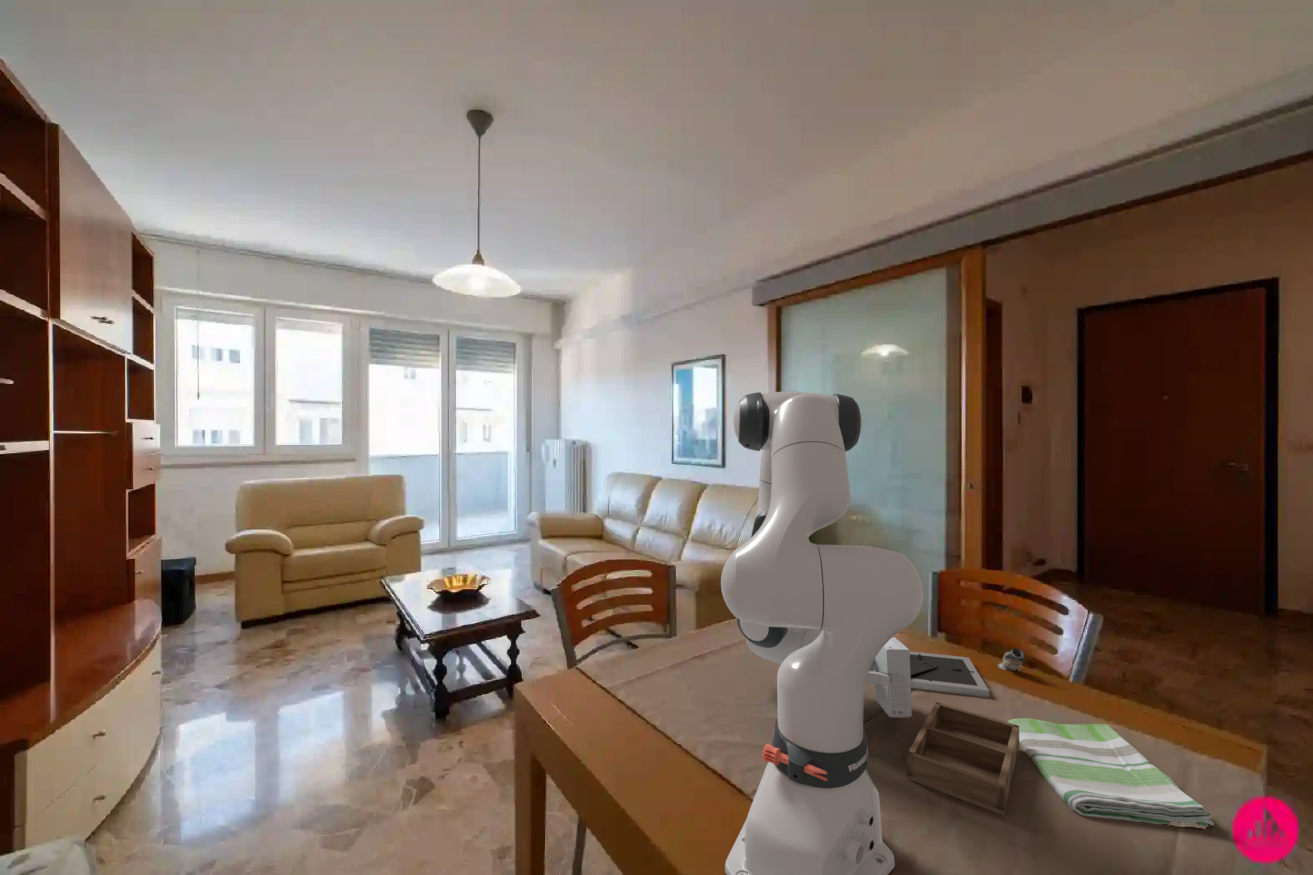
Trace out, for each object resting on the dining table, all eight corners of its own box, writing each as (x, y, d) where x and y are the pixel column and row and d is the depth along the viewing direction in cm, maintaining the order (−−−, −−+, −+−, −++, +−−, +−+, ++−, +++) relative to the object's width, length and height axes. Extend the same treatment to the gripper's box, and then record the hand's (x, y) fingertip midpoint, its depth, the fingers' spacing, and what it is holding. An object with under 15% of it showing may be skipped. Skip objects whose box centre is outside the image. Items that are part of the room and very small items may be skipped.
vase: (1033, 680, 113) (1031, 652, 113) (1004, 679, 115) (1001, 651, 114) (1024, 668, 118) (1022, 642, 118) (996, 667, 120) (994, 641, 120)
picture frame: (877, 687, 112) (989, 700, 106) (877, 673, 112) (989, 686, 106) (871, 656, 127) (968, 666, 121) (871, 644, 127) (968, 654, 121)
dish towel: (1070, 817, 75) (1070, 792, 74) (1003, 726, 97) (1002, 707, 97) (1218, 836, 71) (1218, 810, 71) (1112, 737, 93) (1112, 717, 93)
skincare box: (913, 717, 94) (912, 649, 94) (887, 718, 94) (887, 650, 94) (897, 700, 100) (897, 636, 100) (873, 700, 100) (873, 636, 100)
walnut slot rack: (1003, 815, 74) (1003, 787, 74) (907, 778, 82) (907, 753, 82) (1019, 749, 89) (1019, 725, 89) (936, 723, 97) (936, 701, 97)
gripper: (800, 653, 97) (879, 675, 88) (841, 621, 113) (912, 637, 104) (801, 687, 97) (879, 712, 88) (842, 651, 113) (912, 669, 104)
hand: (897, 671), depth 96 cm, fingers closed on skincare box, 7 cm apart
